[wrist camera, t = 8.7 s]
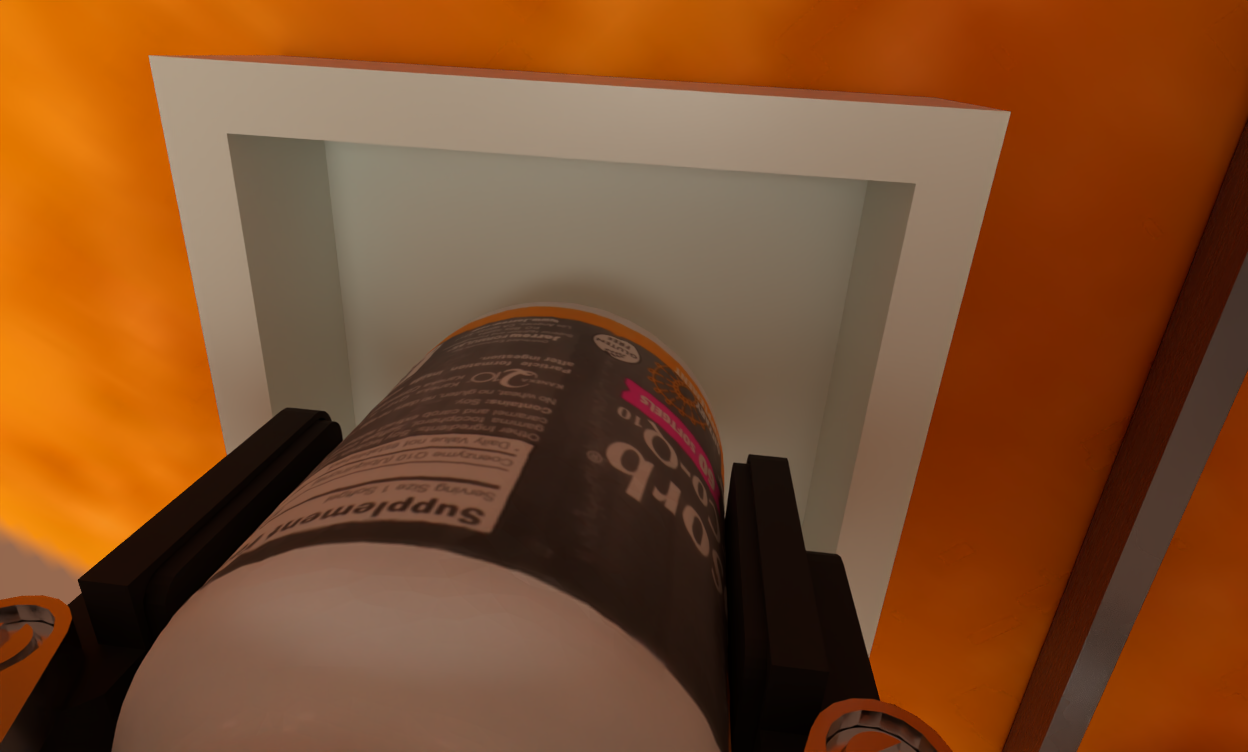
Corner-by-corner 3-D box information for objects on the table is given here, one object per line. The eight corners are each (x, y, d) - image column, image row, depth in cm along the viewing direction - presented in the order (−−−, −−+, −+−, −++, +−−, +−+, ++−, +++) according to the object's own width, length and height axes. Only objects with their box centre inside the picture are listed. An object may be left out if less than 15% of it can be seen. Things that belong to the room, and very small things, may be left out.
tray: (935, 97, 13) (1011, 111, 9) (820, 624, 18) (845, 749, 14) (280, 55, 14) (148, 55, 10) (345, 567, 18) (270, 674, 15)
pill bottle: (764, 528, 13) (884, 1533, 4) (489, 597, 15) (138, 1469, 6) (656, 239, 11) (458, 957, 2) (351, 350, 13) (-525, 1072, 4)
